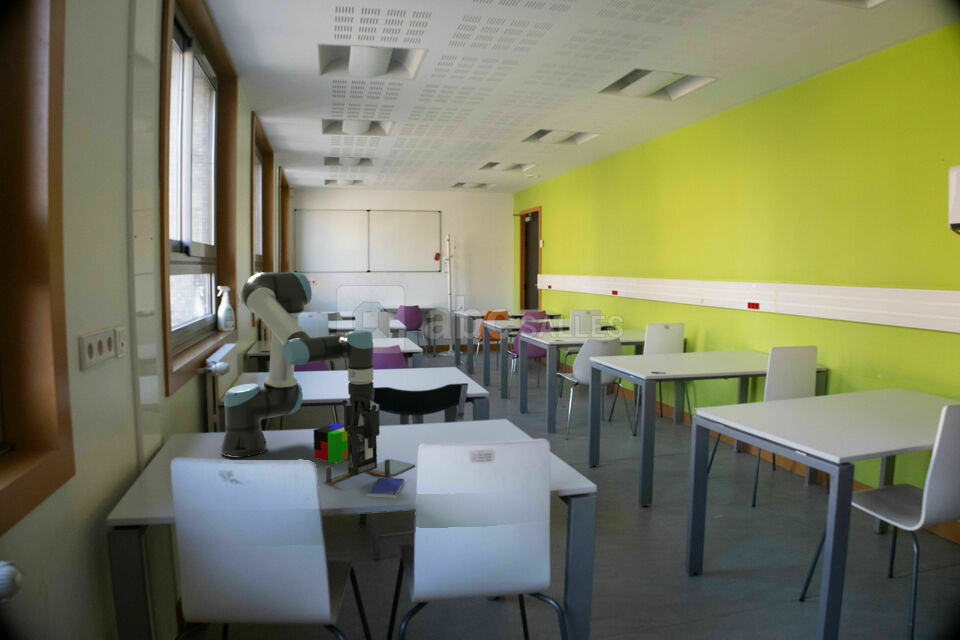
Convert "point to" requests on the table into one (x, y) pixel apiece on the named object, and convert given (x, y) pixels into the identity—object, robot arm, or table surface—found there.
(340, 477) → the wide gate
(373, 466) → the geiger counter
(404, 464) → the pad
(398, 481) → the blue book
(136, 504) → the table surface
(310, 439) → the table surface
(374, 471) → the narrow gate
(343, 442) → the puzzle toy
